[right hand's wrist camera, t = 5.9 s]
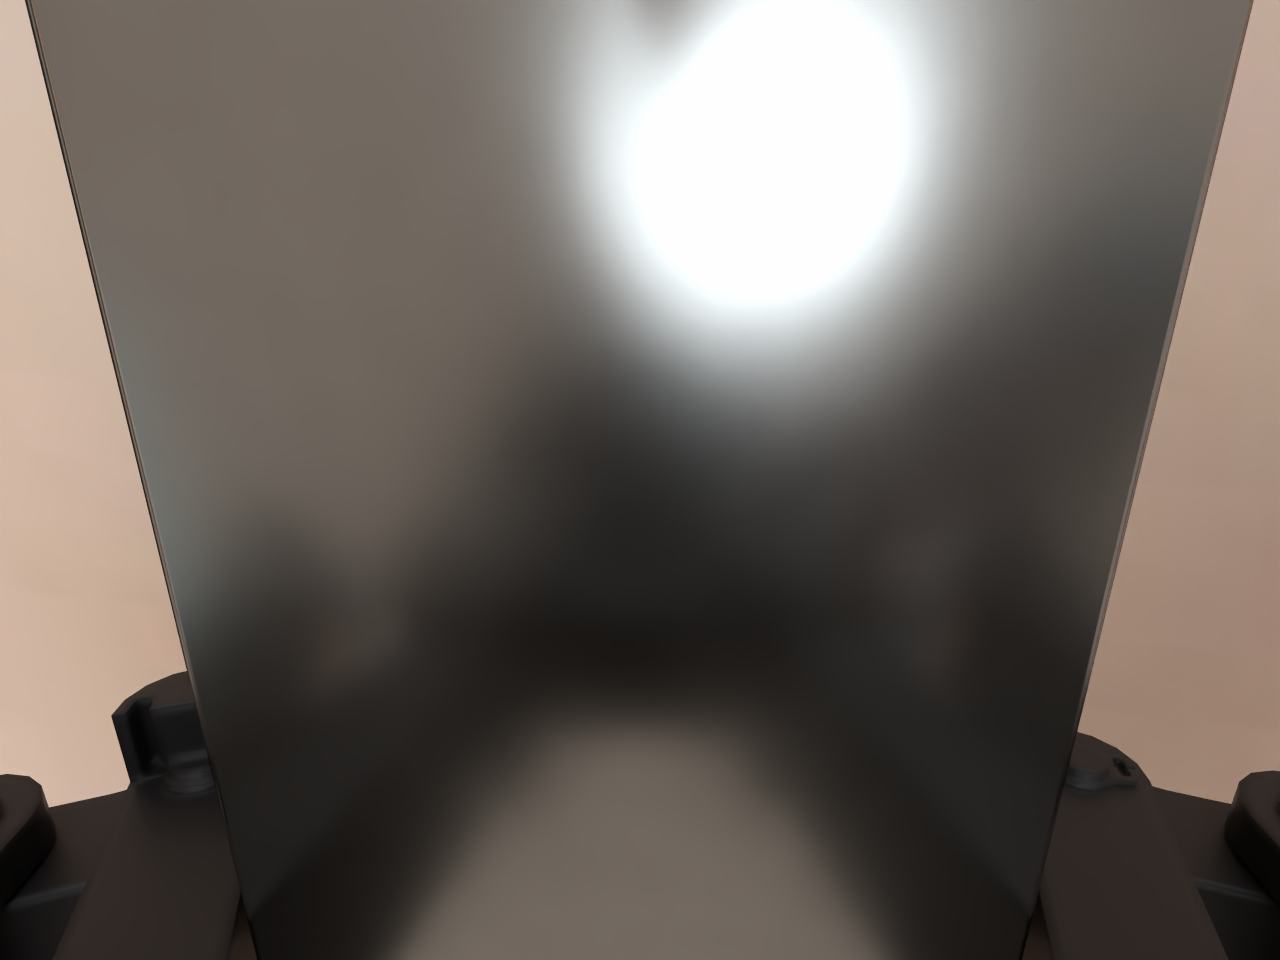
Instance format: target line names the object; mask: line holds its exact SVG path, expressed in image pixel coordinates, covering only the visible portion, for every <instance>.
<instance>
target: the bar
mask: <svg viewBox="0 0 1280 960" xmlns="http://www.w3.org/2000/svg"><path fill="white" fill-rule="evenodd" d="M25 2H26V6H27V10H28V14H29V19H30V23H31V27H32V31H33V35H34V39H35V43H36V47H37V52H38V56H39V60H40V64H41V68H42V72H43V76H44V81H45V85H46V89H47V93H48V97H49V101H50V105H51V110H52V114H53V118H54V122H55V126H56V130H57V134H58V138H59V143H60V147H61V151H62V155H63V159H64V163H65V167H66V172H67V176H68V180H69V184H70V188H71V192H72V196H73V200H74V205H75V209H76V213H77V217H78V221H79V225H80V229H81V234H82V238H83V242H84V246H85V250H86V254H87V258H88V263H89V267H90V271H91V275H92V279H93V283H94V287H95V291H96V296H97V300H98V304H99V308H100V312H101V316H102V320H103V325H104V329H105V333H106V337H107V341H108V345H109V349H110V354H111V358H112V362H113V366H114V370H115V374H116V378H117V382H118V387H119V391H120V395H121V399H122V403H123V407H124V411H125V416H126V420H127V424H128V428H129V432H130V436H131V440H132V444H133V449H134V453H135V457H136V461H137V465H138V469H139V473H140V478H141V482H142V486H143V490H144V494H145V498H146V502H147V507H148V511H149V515H150V519H151V523H152V527H153V531H154V535H155V540H156V544H157V548H158V552H159V556H160V560H161V564H162V569H163V573H164V577H165V581H166V585H167V589H168V593H169V597H170V602H171V606H172V610H173V614H174V618H175V622H176V626H177V631H178V635H179V639H180V643H181V647H182V651H183V655H184V660H185V664H186V668H187V672H188V676H189V680H190V684H191V688H192V693H193V697H194V701H195V705H196V709H197V713H198V717H199V722H200V726H201V730H202V734H203V738H204V742H205V746H206V750H207V755H208V759H209V763H210V767H211V771H212V775H213V779H214V784H215V788H216V792H217V796H218V800H219V804H220V808H221V813H222V817H223V821H224V825H225V829H226V833H227V837H228V841H229V846H230V850H231V854H232V858H233V862H234V866H235V870H236V875H237V879H238V883H239V887H240V891H241V895H242V899H243V903H244V908H245V912H246V916H247V920H248V924H249V928H250V932H251V937H252V941H253V945H254V949H255V953H256V957H257V960H1022V958H1023V954H1024V950H1025V945H1026V941H1027V937H1028V933H1029V929H1030V925H1031V920H1032V916H1033V912H1034V908H1035V904H1036V900H1037V896H1038V891H1039V887H1040V883H1041V879H1042V875H1043V871H1044V867H1045V862H1046V858H1047V854H1048V850H1049V846H1050V842H1051V838H1052V833H1053V829H1054V825H1055V821H1056V817H1057V813H1058V809H1059V804H1060V800H1061V796H1062V792H1063V788H1064V784H1065V780H1066V775H1067V771H1068V767H1069V763H1070V759H1071V755H1072V751H1073V746H1074V742H1075V738H1076V734H1077V730H1078V726H1079V722H1080V717H1081V713H1082V709H1083V705H1084V701H1085V697H1086V693H1087V688H1088V684H1089V680H1090V676H1091V672H1092V668H1093V664H1094V659H1095V655H1096V651H1097V647H1098V643H1099V639H1100V635H1101V630H1102V626H1103V622H1104V618H1105V614H1106V610H1107V606H1108V601H1109V597H1110V593H1111V589H1112V585H1113V581H1114V577H1115V572H1116V568H1117V564H1118V560H1119V556H1120V552H1121V547H1122V543H1123V539H1124V535H1125V531H1126V527H1127V523H1128V518H1129V514H1130V510H1131V506H1132V502H1133V498H1134V494H1135V489H1136V485H1137V481H1138V477H1139V473H1140V469H1141V465H1142V460H1143V456H1144V452H1145V448H1146V444H1147V440H1148V436H1149V431H1150V427H1151V423H1152V419H1153V415H1154V411H1155V407H1156V402H1157V398H1158V394H1159V390H1160V386H1161V382H1162V378H1163V373H1164V369H1165V365H1166V361H1167V357H1168V353H1169V349H1170V344H1171V340H1172V336H1173V332H1174V328H1175V324H1176V320H1177V315H1178V311H1179V307H1180V303H1181V299H1182V295H1183V291H1184V286H1185V282H1186V278H1187V274H1188V270H1189V266H1190V262H1191V257H1192V253H1193V249H1194V245H1195V241H1196V237H1197V233H1198V228H1199V224H1200V220H1201V216H1202V212H1203V208H1204V203H1205V199H1206V195H1207V191H1208V187H1209V183H1210V179H1211V174H1212V170H1213V166H1214V162H1215V158H1216V154H1217V150H1218V145H1219V141H1220V137H1221V133H1222V129H1223V125H1224V121H1225V116H1226V112H1227V108H1228V104H1229V100H1230V96H1231V92H1232V87H1233V83H1234V79H1235V75H1236V71H1237V67H1238V63H1239V58H1240V54H1241V50H1242V46H1243V42H1244V38H1245V34H1246V29H1247V25H1248V21H1249V17H1250V13H1251V9H1252V5H1253V0H25Z"/></svg>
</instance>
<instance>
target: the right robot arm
mask: <svg viewBox="0 0 1280 960" xmlns="http://www.w3.org/2000/svg"><path fill="white" fill-rule="evenodd" d="M112 720H113V723H114V727H115V730H116V734H117V737H118V741H119V744H120V748H121V751H122V754H123V758H124V761H125V765H126V768H127V772H128V775H129V779H130V784H129V786H128V789H127V790H124V791H121V792H117V793H114V794H110V795H105V796H100V797H96V798H91V799H87V800H82V801H77V802H73V803H68V804H63V805H59V806H54V807H50V808H49V807H48V804H47V801H46V798H45V795H44V792H43V789H42V786H41V785H40V784H39V783H37V782H36V781H35V780H33V779H32V778H31V777H29V776H21V775H12V774H4V775H0V960H257V957H256V953H255V949H254V945H253V941H252V937H251V932H250V928H249V924H248V920H247V916H246V912H245V908H244V903H243V899H242V895H241V891H240V887H239V883H238V879H237V875H236V870H235V866H234V862H233V858H232V854H231V850H230V846H229V841H228V837H227V833H226V829H225V825H224V821H223V817H222V813H221V808H220V804H219V800H218V796H217V792H216V788H215V784H214V779H213V775H212V771H211V767H210V763H209V759H208V755H207V750H206V746H205V742H204V738H203V734H202V730H201V726H200V722H199V717H198V713H197V709H196V705H195V701H194V697H193V693H192V688H191V684H190V680H189V676H188V672H187V671H185V672H181V673H177V674H173V675H170V676H168V677H166V678H163V679H161V680H158V681H156V682H154V683H151V684H149V685H147V686H145V687H144V688H142V689H141V690H139V691H138V692H136V693H135V694H133V695H132V696H130V697H129V698H127V699H126V700H124V702H123V703H122V704H121V705H120V706H119V707H118V709H117V710H116V711H115V712H114V713H113V714H112ZM1022 960H1280V772H1279V771H1264V772H1255V773H1251V774H1249V775H1248V776H1246V777H1245V778H1244V779H1242V780H1241V781H1240V782H1239V784H1238V787H1237V790H1236V793H1235V796H1234V799H1233V802H1232V804H1228V803H1223V802H1218V801H1214V800H1209V799H1204V798H1200V797H1195V796H1190V795H1186V794H1181V793H1176V792H1172V791H1167V790H1164V789H1160V788H1157V787H1153V786H1152V785H1151V783H1150V781H1149V779H1148V778H1147V777H1146V775H1145V774H1144V773H1143V771H1142V770H1141V768H1140V767H1139V766H1138V764H1137V763H1135V762H1134V761H1133V760H1131V759H1130V758H1129V757H1128V756H1126V755H1125V754H1124V753H1122V752H1121V751H1120V750H1118V749H1117V748H1115V747H1113V746H1111V745H1109V744H1107V743H1105V742H1103V741H1101V740H1099V739H1097V738H1095V737H1093V736H1089V735H1086V734H1082V733H1079V732H1077V734H1076V738H1075V742H1074V746H1073V751H1072V755H1071V759H1070V763H1069V767H1068V771H1067V775H1066V780H1065V784H1064V788H1063V792H1062V796H1061V800H1060V804H1059V809H1058V813H1057V817H1056V821H1055V825H1054V829H1053V833H1052V838H1051V842H1050V846H1049V850H1048V854H1047V858H1046V862H1045V867H1044V871H1043V875H1042V879H1041V883H1040V887H1039V891H1038V896H1037V900H1036V904H1035V908H1034V912H1033V916H1032V920H1031V925H1030V929H1029V933H1028V937H1027V941H1026V945H1025V950H1024V954H1023V958H1022Z"/></svg>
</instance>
